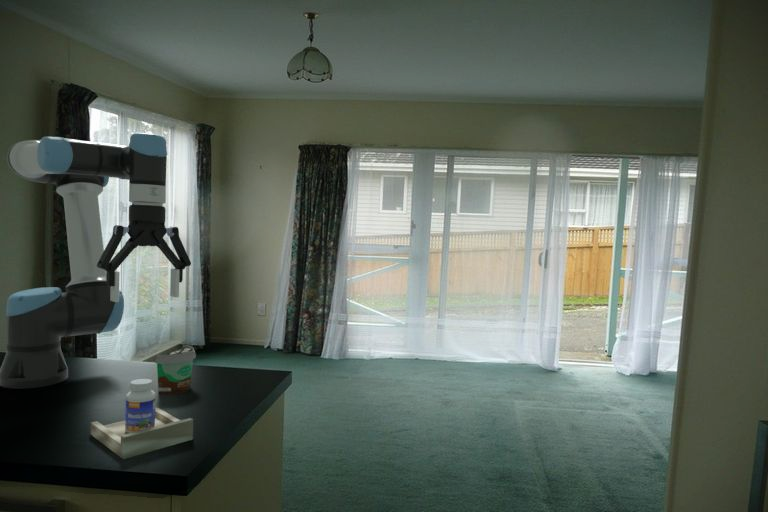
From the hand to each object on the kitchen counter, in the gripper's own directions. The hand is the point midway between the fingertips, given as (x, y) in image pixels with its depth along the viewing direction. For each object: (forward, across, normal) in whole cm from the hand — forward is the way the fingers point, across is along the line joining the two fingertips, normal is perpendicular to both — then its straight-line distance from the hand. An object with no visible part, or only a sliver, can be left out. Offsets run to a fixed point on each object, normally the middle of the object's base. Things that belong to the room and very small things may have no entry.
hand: (145, 299), depth 123 cm
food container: (+25, +12, +6) cm, 28 cm away
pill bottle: (+24, -8, -16) cm, 30 cm away
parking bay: (+25, -8, -16) cm, 30 cm away
